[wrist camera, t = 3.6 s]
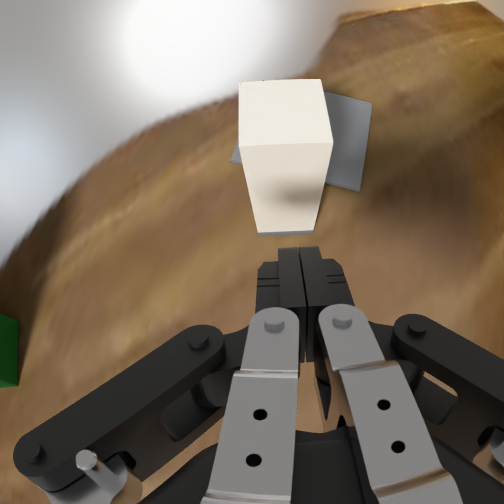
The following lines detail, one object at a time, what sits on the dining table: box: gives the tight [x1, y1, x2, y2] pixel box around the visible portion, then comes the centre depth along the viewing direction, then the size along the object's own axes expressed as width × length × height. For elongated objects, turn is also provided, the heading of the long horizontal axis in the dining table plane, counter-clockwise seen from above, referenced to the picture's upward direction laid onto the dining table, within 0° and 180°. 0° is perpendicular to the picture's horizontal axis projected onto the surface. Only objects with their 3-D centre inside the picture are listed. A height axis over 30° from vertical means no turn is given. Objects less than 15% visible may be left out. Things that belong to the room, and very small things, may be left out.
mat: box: [230, 80, 372, 192], centre depth 30 cm, size 11×12×1 cm
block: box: [239, 79, 333, 236], centre depth 22 cm, size 4×4×13 cm
